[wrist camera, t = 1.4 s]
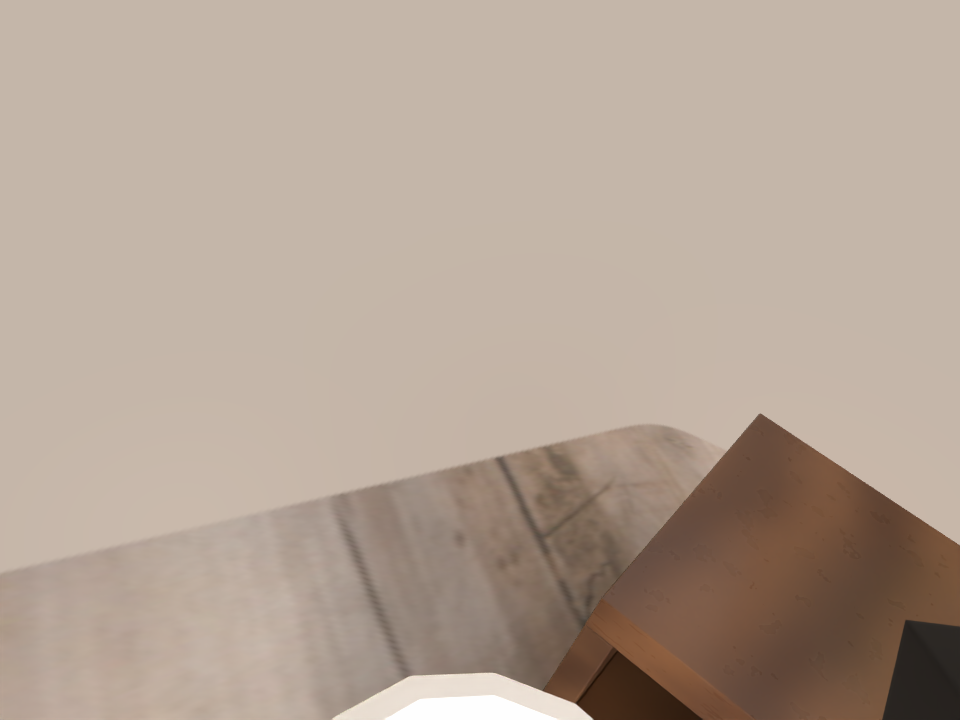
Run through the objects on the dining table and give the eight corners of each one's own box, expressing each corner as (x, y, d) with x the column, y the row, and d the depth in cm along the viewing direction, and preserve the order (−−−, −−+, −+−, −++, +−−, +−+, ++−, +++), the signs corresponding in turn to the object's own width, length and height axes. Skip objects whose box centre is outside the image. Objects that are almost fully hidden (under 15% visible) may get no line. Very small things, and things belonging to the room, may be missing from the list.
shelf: (513, 737, 35) (601, 598, 30) (676, 536, 47) (760, 412, 42) (806, 997, 31) (968, 888, 26) (904, 705, 43) (1028, 590, 38)
